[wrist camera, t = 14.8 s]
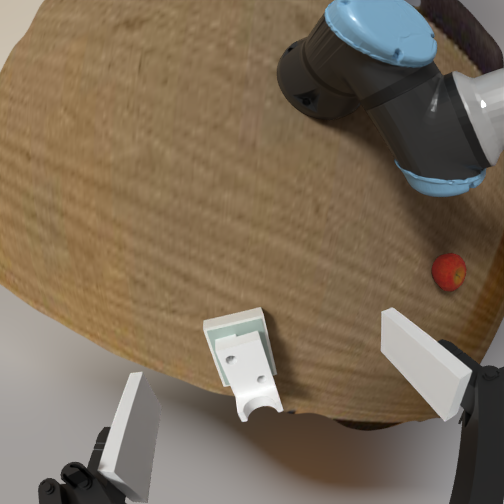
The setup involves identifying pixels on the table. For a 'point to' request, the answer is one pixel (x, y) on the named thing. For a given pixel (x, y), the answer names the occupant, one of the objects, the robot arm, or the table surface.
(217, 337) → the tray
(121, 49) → the table surface
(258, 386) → the bracket
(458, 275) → the apple
